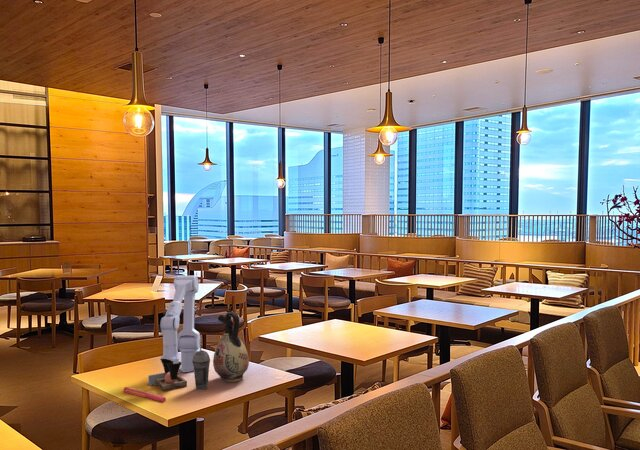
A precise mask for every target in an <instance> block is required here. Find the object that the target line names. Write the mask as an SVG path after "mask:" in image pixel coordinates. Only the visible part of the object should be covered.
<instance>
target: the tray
mask: <svg viewBox="0 0 640 450" xmlns="http://www.w3.org/2000/svg"><path fill="white" fill-rule="evenodd" d="M155 386H156V387H157V388H159V389H160V390H161V391H162V392H167V391H171V390H177V389H182V388H186V387H187V386H188V381H187V380H186V379H184V378H183V377H182V376H181V375H179V374H178V375H177V379H176V381H175V382H174V383H171V384H167V383H166V382H165V379H164V378H162V379H157V380H156V384H155Z"/></svg>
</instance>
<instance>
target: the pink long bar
mask: <svg viewBox="0 0 640 450" xmlns="http://www.w3.org/2000/svg"><path fill="white" fill-rule="evenodd" d="M123 393H127V394H131V395H135V396H138V397H141V398H145V399H150V400H154V401H157V402H161V403H165V402H166V401H167V397H166V396H162V395H158V394H155V393H150V392H147V391H143V390H139V389H135V388H132V387H123Z"/></svg>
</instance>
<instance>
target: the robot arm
mask: <svg viewBox="0 0 640 450" xmlns="http://www.w3.org/2000/svg"><path fill="white" fill-rule="evenodd" d="M173 285H174V286H173V287H174V296H173V298H172V299H173V300H172V301H171V302H169V304H168V306H167V308H166V313H165V315H164V316H163V317H161V319H160V322H159V323H160V324H159V325H160V330H161V334H162V340H163V341H162V343H163V344H162V345H163V346H162V349H163V351H162V355H161V356H160V358H159V359H160V363H162V366H163V370H164V372H165V374H167V373H168V372H170V377H171V380H175V379H177V375H179V370H180V371H181V372H183V373H188V372H190V373H191V372H194V367H193V362H192V360H193V356H194V354H195V353H196V352H198V351H200V339H201V333H200V332H199V331H198V330H196V329H195V299H196V298H195V297H196V296H195V295H196V293H199V278H198V276H197V275H196V274H194V275H179V274H178V275H176V276H175V277H174V279H173ZM182 302H183V304H182ZM182 309H183V327H182V330H181V331H180V332H178V330H179V327H180V320H181V319H180V315H181V313H182ZM178 350H179V351H178ZM179 352H180V360H181V361H179Z"/></svg>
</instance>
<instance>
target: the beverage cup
mask: <svg viewBox="0 0 640 450" xmlns="http://www.w3.org/2000/svg"><path fill="white" fill-rule="evenodd" d="M199 349H200V351H198V352H196V353H195V354H194V356H193V360H192V362H193V367H194V371H193V373H194V374H193V375H194V383H195V388H196V389H195V390H196V391H205V390H208V385H209V371H210V362H211V357H210V354H209V353H208V352H207V351H206V350H202V340H201V338H200V348H199Z"/></svg>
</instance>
